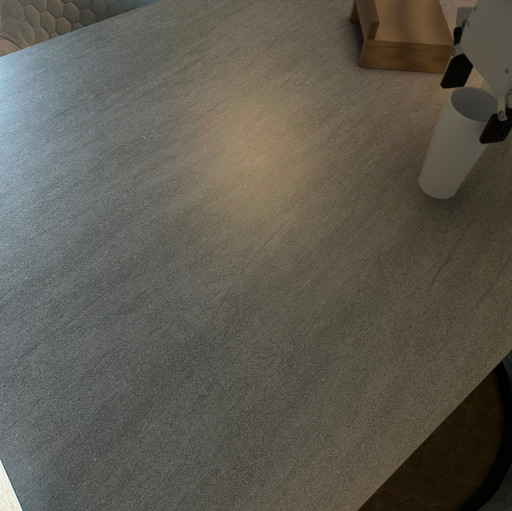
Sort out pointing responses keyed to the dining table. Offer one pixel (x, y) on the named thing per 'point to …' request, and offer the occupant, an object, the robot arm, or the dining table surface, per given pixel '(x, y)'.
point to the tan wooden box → (403, 35)
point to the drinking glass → (456, 141)
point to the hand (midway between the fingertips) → (470, 112)
